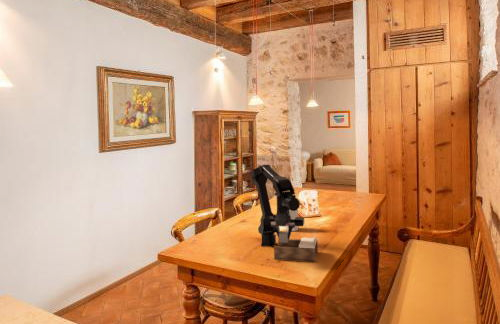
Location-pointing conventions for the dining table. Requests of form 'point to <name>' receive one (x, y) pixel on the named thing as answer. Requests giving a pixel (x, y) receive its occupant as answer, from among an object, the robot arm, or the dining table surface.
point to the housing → (294, 251)
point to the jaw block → (283, 237)
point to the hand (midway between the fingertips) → (284, 239)
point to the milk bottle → (293, 216)
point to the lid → (308, 242)
